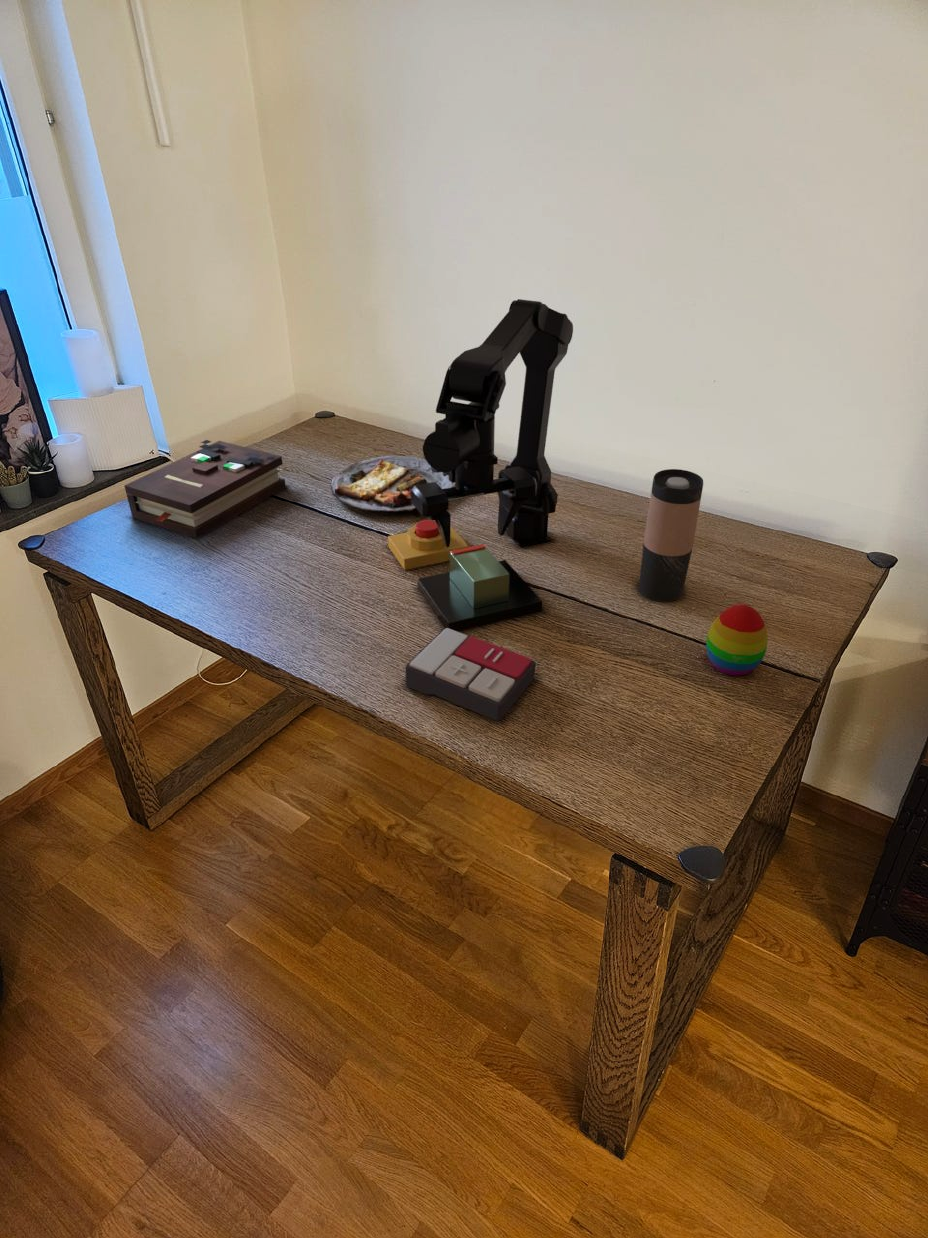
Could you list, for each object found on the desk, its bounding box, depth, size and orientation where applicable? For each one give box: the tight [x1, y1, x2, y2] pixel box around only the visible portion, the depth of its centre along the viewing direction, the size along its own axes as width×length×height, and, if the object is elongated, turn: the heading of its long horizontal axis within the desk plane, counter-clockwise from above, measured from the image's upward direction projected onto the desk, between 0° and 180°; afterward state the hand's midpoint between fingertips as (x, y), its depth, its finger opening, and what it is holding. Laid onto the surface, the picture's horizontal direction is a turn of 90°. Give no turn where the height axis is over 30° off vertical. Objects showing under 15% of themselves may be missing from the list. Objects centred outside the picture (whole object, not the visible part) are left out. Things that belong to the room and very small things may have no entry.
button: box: [415, 519, 439, 538], centre depth 142 cm, size 4×4×2 cm
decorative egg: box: [705, 603, 769, 677], centre depth 114 cm, size 8×8×10 cm
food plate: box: [330, 455, 456, 514], centre depth 164 cm, size 25×23×4 cm
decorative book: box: [123, 439, 287, 539], centre depth 159 cm, size 19×8×30 cm
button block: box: [387, 524, 470, 571], centre depth 144 cm, size 12×9×4 cm
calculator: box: [405, 627, 537, 722], centre depth 113 cm, size 11×4×15 cm
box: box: [449, 543, 509, 609], centre depth 129 cm, size 10×6×5 cm, turn 23°
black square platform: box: [416, 559, 543, 632], centre depth 131 cm, size 16×14×2 cm
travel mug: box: [638, 468, 704, 603], centre depth 128 cm, size 8×8×20 cm
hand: (474, 540), depth 127 cm, fingers open, 9 cm apart
